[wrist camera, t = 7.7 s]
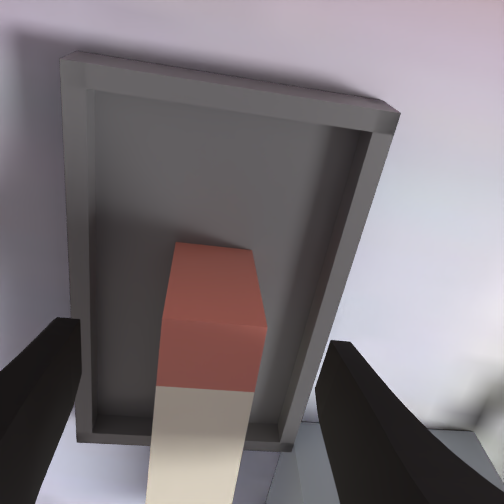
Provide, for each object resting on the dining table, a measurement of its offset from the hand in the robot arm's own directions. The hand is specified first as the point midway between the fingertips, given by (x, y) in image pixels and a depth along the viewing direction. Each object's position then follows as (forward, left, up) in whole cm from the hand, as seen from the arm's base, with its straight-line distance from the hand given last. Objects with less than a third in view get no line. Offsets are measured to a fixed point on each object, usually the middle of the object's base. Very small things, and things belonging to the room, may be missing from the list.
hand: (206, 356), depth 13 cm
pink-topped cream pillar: (-3, 0, -3) cm, 4 cm away
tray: (0, 0, -4) cm, 4 cm away
